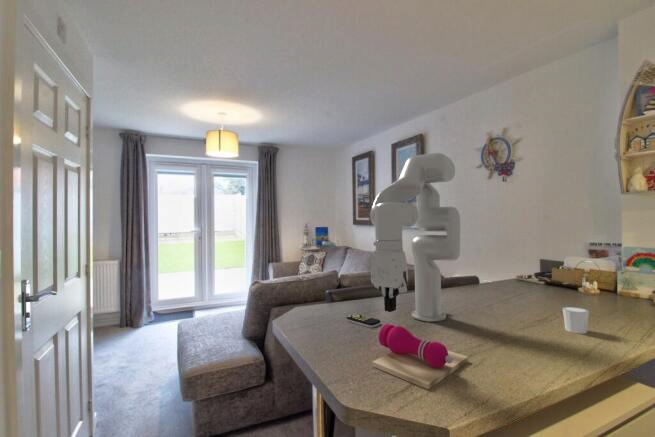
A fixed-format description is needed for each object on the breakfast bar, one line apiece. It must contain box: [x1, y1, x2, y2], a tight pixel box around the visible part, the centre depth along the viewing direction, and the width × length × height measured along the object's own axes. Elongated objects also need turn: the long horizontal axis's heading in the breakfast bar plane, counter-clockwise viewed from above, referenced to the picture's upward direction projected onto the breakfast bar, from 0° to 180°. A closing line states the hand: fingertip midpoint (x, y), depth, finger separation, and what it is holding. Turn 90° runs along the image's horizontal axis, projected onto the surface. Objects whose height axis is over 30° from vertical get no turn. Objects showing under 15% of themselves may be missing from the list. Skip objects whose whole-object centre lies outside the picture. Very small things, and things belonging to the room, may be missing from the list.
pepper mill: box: [378, 323, 453, 368], centre depth 83 cm, size 7×7×20 cm
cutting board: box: [371, 350, 469, 390], centre depth 83 cm, size 20×16×1 cm
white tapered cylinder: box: [562, 306, 590, 335], centre depth 104 cm, size 7×7×7 cm
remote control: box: [346, 313, 381, 329], centre depth 117 cm, size 6×13×2 cm, turn 44°
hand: (390, 310), depth 90 cm, fingers closed
